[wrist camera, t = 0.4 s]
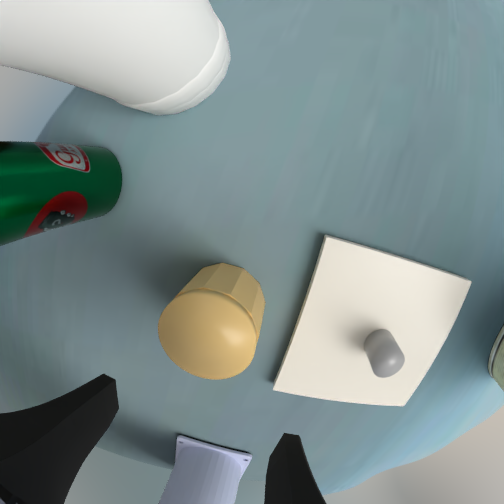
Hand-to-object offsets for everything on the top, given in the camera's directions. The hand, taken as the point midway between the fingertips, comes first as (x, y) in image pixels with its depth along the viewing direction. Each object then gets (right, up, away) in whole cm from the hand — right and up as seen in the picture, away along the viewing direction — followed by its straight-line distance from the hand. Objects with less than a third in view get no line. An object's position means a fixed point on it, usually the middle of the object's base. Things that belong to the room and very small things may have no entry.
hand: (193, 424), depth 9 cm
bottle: (-3, +20, +5) cm, 20 cm away
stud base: (+11, +1, +8) cm, 14 cm away
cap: (+1, +4, +9) cm, 10 cm away
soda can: (-9, +12, +8) cm, 17 cm away
